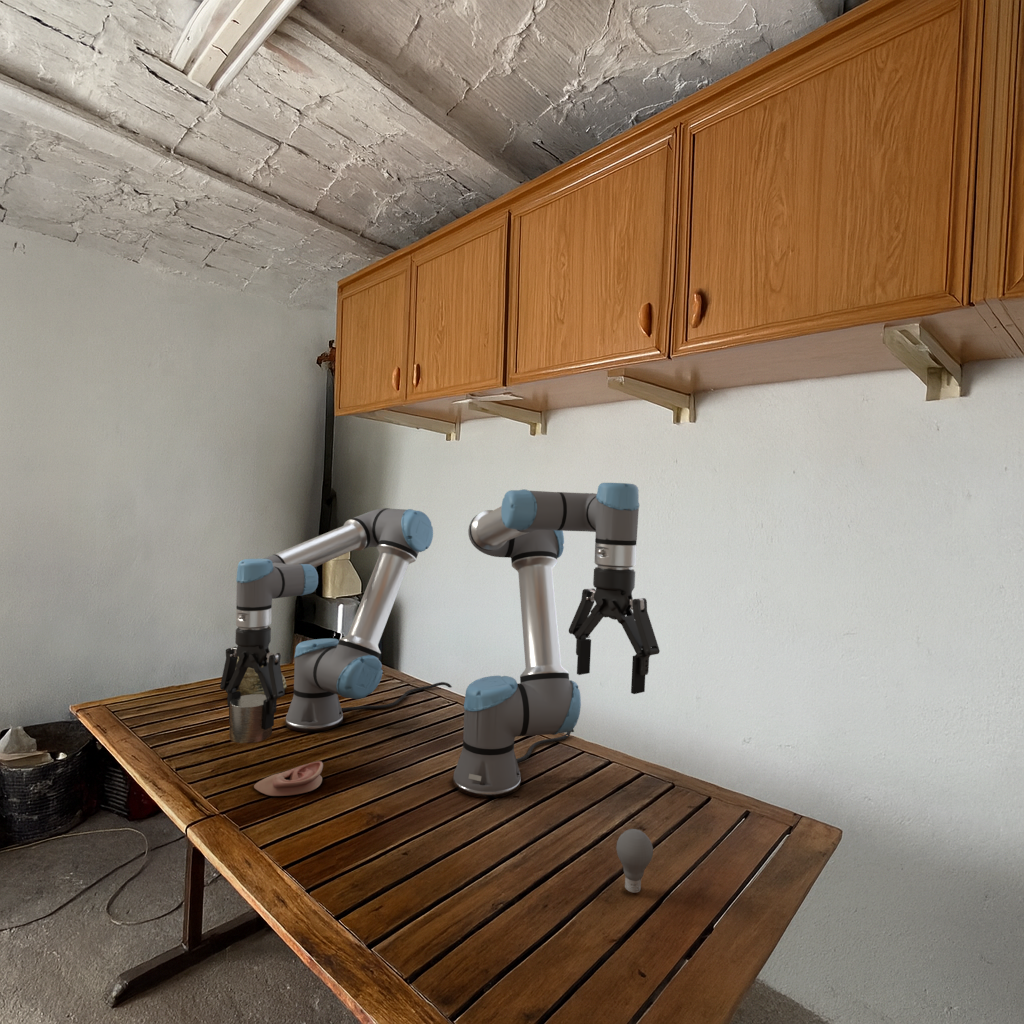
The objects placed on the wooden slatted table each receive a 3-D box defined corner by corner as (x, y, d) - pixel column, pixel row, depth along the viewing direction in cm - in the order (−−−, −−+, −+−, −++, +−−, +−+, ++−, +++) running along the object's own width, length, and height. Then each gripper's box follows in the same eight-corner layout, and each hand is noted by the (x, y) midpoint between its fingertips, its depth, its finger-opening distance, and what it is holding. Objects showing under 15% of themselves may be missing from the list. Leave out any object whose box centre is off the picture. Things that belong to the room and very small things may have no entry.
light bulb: (610, 879, 108) (613, 822, 108) (644, 879, 109) (647, 822, 109) (619, 902, 102) (622, 840, 102) (655, 901, 103) (658, 840, 103)
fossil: (218, 695, 195) (220, 647, 195) (278, 685, 208) (279, 640, 207) (228, 703, 189) (230, 653, 188) (289, 692, 201) (290, 645, 201)
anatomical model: (246, 773, 134) (276, 753, 145) (245, 792, 134) (276, 770, 145) (303, 782, 131) (330, 760, 142) (302, 801, 131) (329, 777, 142)
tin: (280, 731, 148) (281, 697, 148) (252, 745, 140) (253, 709, 140) (248, 725, 151) (249, 692, 151) (220, 739, 143) (221, 703, 142)
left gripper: (203, 624, 145) (201, 721, 146) (281, 635, 138) (278, 737, 138) (228, 619, 152) (226, 711, 153) (303, 628, 145) (300, 726, 145)
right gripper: (553, 560, 123) (549, 669, 124) (655, 576, 104) (649, 705, 104) (581, 559, 128) (576, 664, 128) (683, 574, 108) (677, 697, 109)
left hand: (251, 723), depth 146 cm, fingers closed on tin, 9 cm apart
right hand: (609, 682), depth 116 cm, fingers open, 13 cm apart
